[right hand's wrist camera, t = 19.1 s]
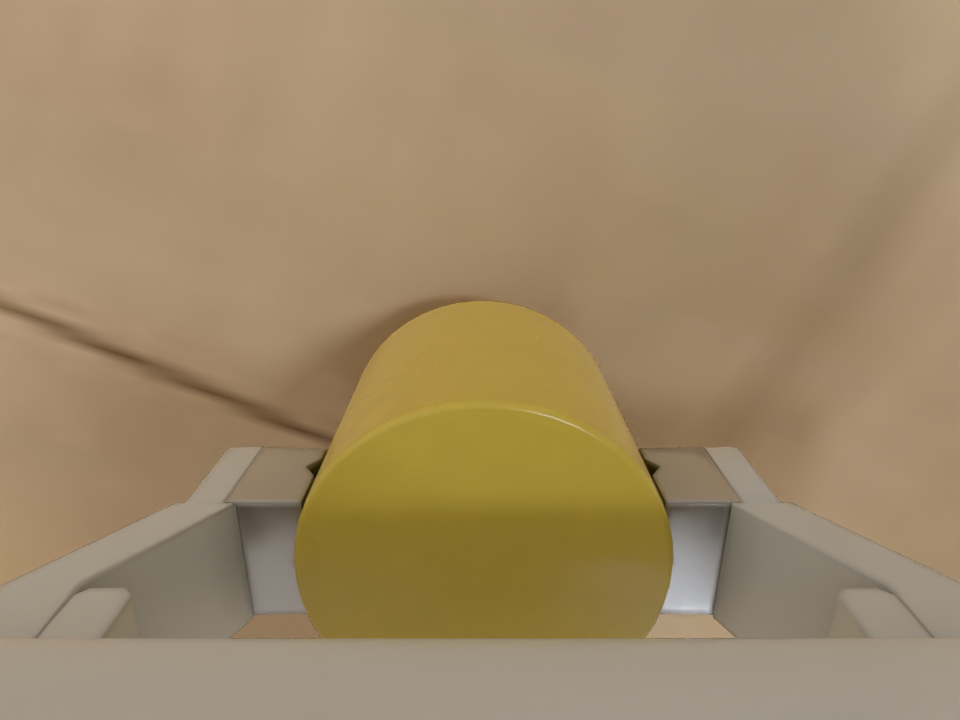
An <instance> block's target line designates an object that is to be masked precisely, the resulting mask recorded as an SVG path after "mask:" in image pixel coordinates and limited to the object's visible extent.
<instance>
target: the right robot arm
mask: <svg viewBox="0 0 960 720" xmlns="http://www.w3.org/2000/svg"><path fill="white" fill-rule="evenodd" d="M327 451H328V448H274V447H266V448H264V447H233V448H228V449H227V450H226V451H225V452H224V454H223V455H222V456H221V458H220V459H219V460H218V462H217V463H216V464H215V465H214V467H213V468H212V469H211V471H210V472H209V473H208V475H207V476H206V477H205V479H204V480H203V481H202V482H201V484H200V485H199V486H198V488H197V489H196V490H195V492H194V493H193V494H192V495H191V497H190V498H189V499H188V501H187V502H186V503H174V504H172V505H170V506H168V507H166V508H164V509H162V510H159V511H157V512H155V513H153V514H151V515H149V516H147V517H145V518H143V519H140V520H138V521H136V522H134V523H132V524H130V525H128V526H126V527H124V528H121V529H119V530H117V531H115V532H113V533H111V534H109V535H107V536H105V537H103V538H100V539H98V540H96V541H94V542H92V543H90V544H88V545H86V546H84V547H81V548H79V549H77V550H75V551H73V552H71V553H69V554H67V555H65V556H62V557H60V558H58V559H56V560H54V561H52V562H50V563H48V564H46V565H43V566H41V567H39V568H37V569H35V570H33V571H31V572H29V573H27V574H24V575H22V576H20V577H18V578H16V579H14V580H12V581H10V582H8V583H6V584H3V585H2V586H1V587H0V720H960V582H958V581H956V580H954V579H952V578H950V577H947V576H945V575H943V574H941V573H939V572H937V571H935V570H933V569H930V568H928V567H926V566H924V565H922V564H920V563H918V562H916V561H914V560H911V559H909V558H907V557H905V556H903V555H901V554H899V553H897V552H894V551H892V550H890V549H888V548H886V547H884V546H882V545H880V544H877V543H875V542H873V541H871V540H869V539H867V538H865V537H863V536H860V535H858V534H856V533H854V532H852V531H850V530H848V529H846V528H843V527H841V526H839V525H837V524H835V523H833V522H831V521H829V520H827V519H824V518H822V517H820V516H818V515H816V514H814V513H812V512H810V511H807V510H805V509H803V508H801V507H799V506H797V505H795V504H793V503H781V502H780V501H779V500H778V499H777V497H776V496H775V495H774V494H773V492H772V491H771V490H770V488H769V487H768V486H767V485H766V483H765V482H764V481H763V480H762V478H761V477H760V476H759V475H758V473H757V472H756V471H755V469H754V468H753V467H752V466H751V464H750V463H749V462H748V461H747V459H746V458H745V457H744V456H743V454H742V453H741V452H740V450H739V449H737V448H735V447H732V446H731V447H709V448H704V447H688V448H646V449H638V451H639V453H640V455H641V457H642V459H643V461H644V463H645V465H646V468H647V470H648V472H649V474H650V476H651V478H652V480H653V482H654V484H655V487H656V489H657V491H658V493H659V495H660V497H661V499H662V502H663V504H664V507H665V510H666V513H667V516H668V519H669V522H670V528H671V534H672V539H673V567H672V574H671V581H670V586H669V589H668V592H667V596H666V599H665V602H664V605H663V607H662V609H661V611H660V613H667V614H704V615H713V618H714V619H715V620H717V621H718V622H719V623H720V624H721V625H722V626H723V627H725V628H726V629H727V630H728V631H729V632H730V633H731V634H732V635H734V636H735V637H736V638H231V637H232V636H233V635H234V634H235V633H237V632H238V631H239V630H240V629H241V628H242V627H243V626H244V625H246V624H247V623H248V622H249V621H250V620H251V619H252V618H253V615H262V614H298V613H307V612H306V610H305V607H304V605H303V603H302V600H301V596H300V592H299V589H298V585H297V581H296V575H295V566H294V543H295V535H296V530H297V525H298V520H299V517H300V514H301V511H302V509H303V506H304V504H305V501H306V498H307V496H308V494H309V492H310V489H311V487H312V485H313V483H314V480H315V478H316V476H317V474H318V472H319V469H320V467H321V465H322V463H323V460H324V458H325V456H326V454H327Z"/></svg>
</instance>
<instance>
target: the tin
mask: <svg viewBox="0 0 960 720" xmlns="http://www.w3.org/2000/svg"><path fill="white" fill-rule="evenodd" d="M294 566H295V575H296V581H297V585H298V589H299V592H300V596H301V600H302V603H303V605H304V607H305V610H306V612H307V614H308V616H309V619H310V621H311V622H312V624H313V625H314V627H315V629H316V630H317V632H318V633H319V635H320V637H321V638H645V637H646V636H647V634H648V633H649V631H650V630H651V628H652V627H653V625H654V624H655V622H656V620H657V618H658V616H659V614H660V611H661V609H662V607H663V605H664V602H665V599H666V596H667V592H668V589H669V586H670V581H671V574H672V567H673V539H672V534H671V528H670V522H669V519H668V516H667V513H666V510H665V507H664V504H663V502H662V499H661V497H660V495H659V493H658V491H657V489H656V487H655V484H654V482H653V480H652V478H651V476H650V474H649V472H648V470H647V468H646V465H645V463H644V461H643V459H642V457H641V455H640V453H639V451H638V448H637V446H636V444H635V442H634V440H633V438H632V436H631V434H630V432H629V429H628V427H627V425H626V423H625V421H624V419H623V417H622V415H621V413H620V410H619V408H618V406H617V404H616V402H615V400H614V398H613V396H612V393H611V391H610V389H609V387H608V385H607V383H606V381H605V379H604V377H603V374H602V372H601V371H600V369H599V367H598V365H597V363H596V361H595V359H594V358H593V357H592V355H591V354H590V353H589V351H588V350H587V348H586V347H585V346H584V345H583V344H582V343H581V342H580V341H579V340H578V339H577V338H576V337H575V336H574V335H573V334H572V333H571V332H570V331H568V330H567V329H566V328H564V327H563V326H562V325H561V324H559V323H557V322H556V321H554V320H552V319H551V318H549V317H547V316H545V315H543V314H541V313H538V312H536V311H534V310H531V309H529V308H525V307H522V306H518V305H514V304H511V303H503V302H496V301H470V302H461V303H455V304H451V305H447V306H443V307H439V308H436V309H434V310H431V311H429V312H426V313H423V314H421V315H420V316H418V317H416V318H414V319H412V320H411V321H409V322H407V323H406V324H404V325H403V326H402V327H400V328H399V329H398V330H396V331H395V332H394V333H392V334H391V335H390V336H389V337H388V338H387V339H386V340H385V341H384V342H383V343H382V344H381V346H380V347H379V348H378V349H377V351H376V352H375V353H374V355H373V356H372V357H371V359H370V361H369V362H368V364H367V366H366V368H365V369H364V371H363V373H362V376H361V378H360V380H359V382H358V385H357V387H356V389H355V391H354V393H353V396H352V398H351V400H350V402H349V405H348V407H347V409H346V411H345V414H344V416H343V418H342V420H341V422H340V425H339V427H338V429H337V431H336V434H335V436H334V438H333V440H332V443H331V445H330V447H329V449H328V451H327V454H326V456H325V458H324V460H323V463H322V465H321V467H320V469H319V472H318V474H317V476H316V478H315V480H314V483H313V485H312V487H311V489H310V492H309V494H308V496H307V498H306V501H305V504H304V506H303V509H302V511H301V514H300V517H299V520H298V525H297V530H296V535H295V543H294Z"/></svg>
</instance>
